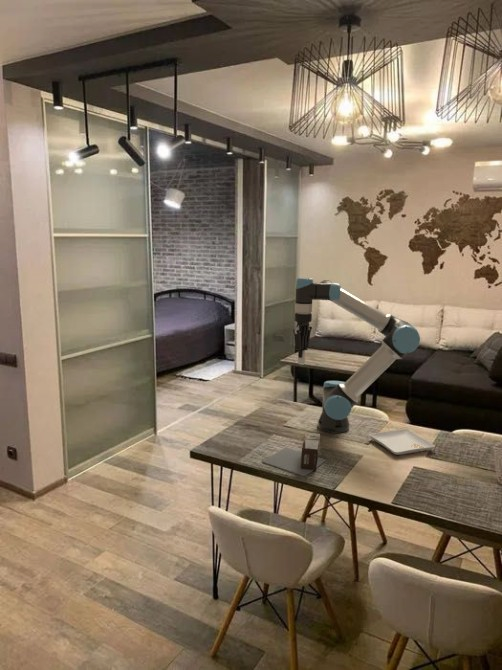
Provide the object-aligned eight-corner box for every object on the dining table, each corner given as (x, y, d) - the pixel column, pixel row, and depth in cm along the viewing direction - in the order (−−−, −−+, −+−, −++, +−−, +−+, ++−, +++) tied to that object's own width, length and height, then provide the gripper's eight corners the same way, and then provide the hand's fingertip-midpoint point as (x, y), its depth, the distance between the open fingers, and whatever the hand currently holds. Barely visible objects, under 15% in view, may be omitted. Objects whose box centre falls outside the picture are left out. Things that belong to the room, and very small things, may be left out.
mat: (285, 448, 220) (285, 447, 220) (326, 460, 208) (326, 459, 208) (262, 462, 205) (262, 461, 205) (304, 476, 194) (304, 475, 194)
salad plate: (394, 459, 212) (395, 451, 211) (367, 440, 232) (367, 433, 231) (436, 453, 219) (436, 445, 218) (406, 435, 239) (406, 428, 238)
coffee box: (305, 432, 213) (301, 447, 198) (320, 433, 212) (317, 448, 197) (304, 452, 215) (300, 468, 199) (319, 454, 214) (316, 470, 198)
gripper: (303, 310, 230) (301, 360, 235) (288, 313, 220) (286, 365, 225) (317, 312, 226) (315, 362, 231) (303, 315, 216) (301, 368, 220)
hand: (301, 364), depth 228 cm, fingers closed
